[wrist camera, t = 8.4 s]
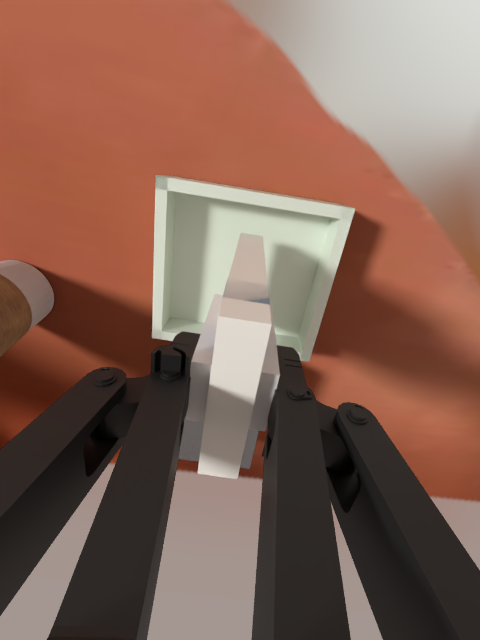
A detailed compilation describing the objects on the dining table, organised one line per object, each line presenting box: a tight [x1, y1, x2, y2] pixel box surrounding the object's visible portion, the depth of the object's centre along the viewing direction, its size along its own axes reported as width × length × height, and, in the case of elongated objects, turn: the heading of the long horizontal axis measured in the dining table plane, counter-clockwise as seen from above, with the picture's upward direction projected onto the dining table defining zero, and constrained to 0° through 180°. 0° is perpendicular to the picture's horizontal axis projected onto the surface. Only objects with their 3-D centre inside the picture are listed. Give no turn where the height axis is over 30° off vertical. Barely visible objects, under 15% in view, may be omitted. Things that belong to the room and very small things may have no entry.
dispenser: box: [178, 416, 259, 469], centre depth 29 cm, size 7×10×7 cm
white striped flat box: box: [197, 233, 272, 479], centre depth 17 cm, size 2×7×14 cm, turn 171°
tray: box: [152, 175, 355, 362], centre depth 24 cm, size 14×13×4 cm
